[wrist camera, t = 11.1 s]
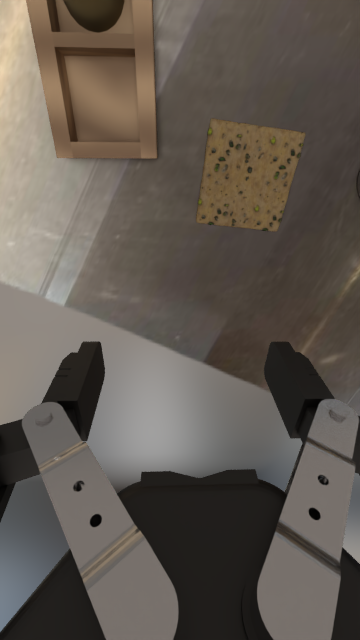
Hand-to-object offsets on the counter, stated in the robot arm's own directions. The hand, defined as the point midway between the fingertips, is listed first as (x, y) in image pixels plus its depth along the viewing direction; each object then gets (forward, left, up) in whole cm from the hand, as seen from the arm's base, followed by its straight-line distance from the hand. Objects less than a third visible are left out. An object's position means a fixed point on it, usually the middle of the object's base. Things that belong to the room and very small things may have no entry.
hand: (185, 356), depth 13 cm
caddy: (+7, -17, -29) cm, 35 cm away
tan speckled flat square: (-10, -5, -30) cm, 32 cm away
